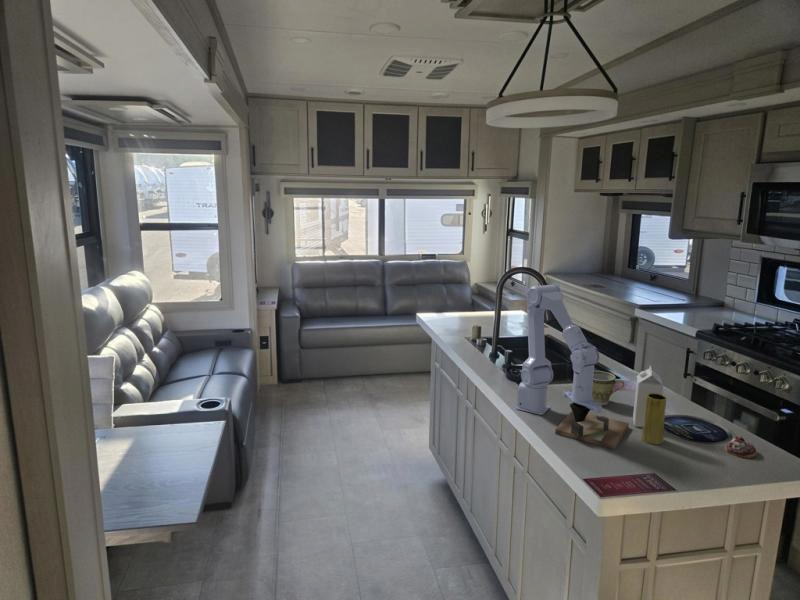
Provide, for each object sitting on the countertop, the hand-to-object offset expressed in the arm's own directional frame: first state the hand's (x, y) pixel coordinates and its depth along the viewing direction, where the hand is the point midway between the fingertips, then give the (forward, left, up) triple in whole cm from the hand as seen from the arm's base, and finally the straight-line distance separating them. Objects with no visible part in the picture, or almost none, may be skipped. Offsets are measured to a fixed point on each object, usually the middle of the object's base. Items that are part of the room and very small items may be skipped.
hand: (579, 425), depth 170 cm
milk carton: (+16, +20, -3) cm, 25 cm away
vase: (+20, +9, -3) cm, 22 cm away
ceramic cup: (0, +30, -3) cm, 30 cm away
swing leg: (+3, +1, -1) cm, 4 cm away
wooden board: (+3, +5, -3) cm, 6 cm away
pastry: (+43, +15, -3) cm, 45 cm away
